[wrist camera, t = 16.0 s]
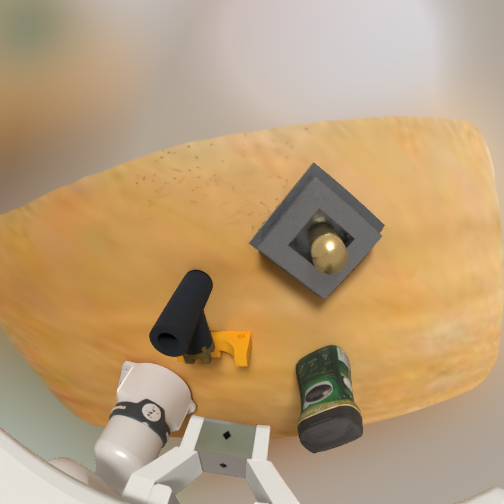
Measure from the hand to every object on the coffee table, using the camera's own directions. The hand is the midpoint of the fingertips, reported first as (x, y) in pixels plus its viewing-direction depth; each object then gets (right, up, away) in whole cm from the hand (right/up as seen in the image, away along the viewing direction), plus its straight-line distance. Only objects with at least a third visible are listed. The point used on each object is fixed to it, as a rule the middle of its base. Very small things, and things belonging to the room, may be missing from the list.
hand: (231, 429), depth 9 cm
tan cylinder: (+11, +9, +31) cm, 34 cm away
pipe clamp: (-5, -9, +41) cm, 42 cm away
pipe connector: (-8, -1, +38) cm, 39 cm away
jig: (+10, +10, +32) cm, 35 cm away
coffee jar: (+14, -14, +40) cm, 44 cm away
